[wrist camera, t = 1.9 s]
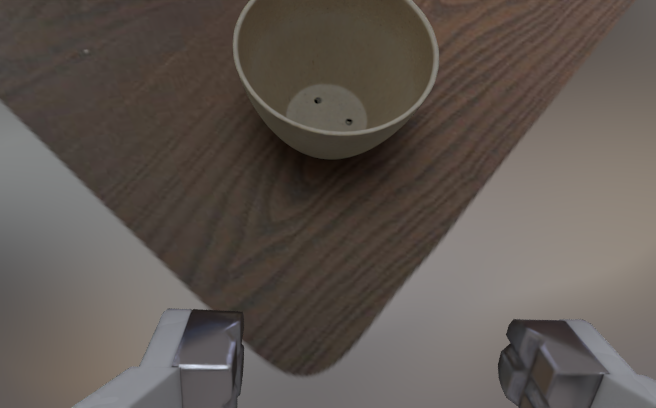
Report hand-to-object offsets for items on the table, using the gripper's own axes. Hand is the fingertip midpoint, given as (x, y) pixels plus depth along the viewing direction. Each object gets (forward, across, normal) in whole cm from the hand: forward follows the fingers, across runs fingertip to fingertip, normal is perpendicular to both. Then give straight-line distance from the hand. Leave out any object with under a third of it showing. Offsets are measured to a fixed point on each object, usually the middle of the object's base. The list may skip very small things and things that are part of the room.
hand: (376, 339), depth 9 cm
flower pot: (+21, 0, 0) cm, 21 cm away
